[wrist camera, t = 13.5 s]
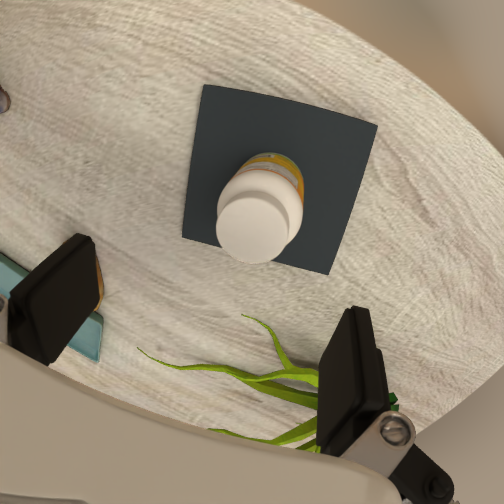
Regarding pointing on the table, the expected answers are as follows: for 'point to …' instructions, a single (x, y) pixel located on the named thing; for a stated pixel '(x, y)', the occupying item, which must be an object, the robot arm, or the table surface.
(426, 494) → the robot arm
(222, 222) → the supplement bottle
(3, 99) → the flask
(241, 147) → the mat
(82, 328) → the teal serving tray
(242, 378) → the decorative plant
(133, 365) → the table surface
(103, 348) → the table surface
